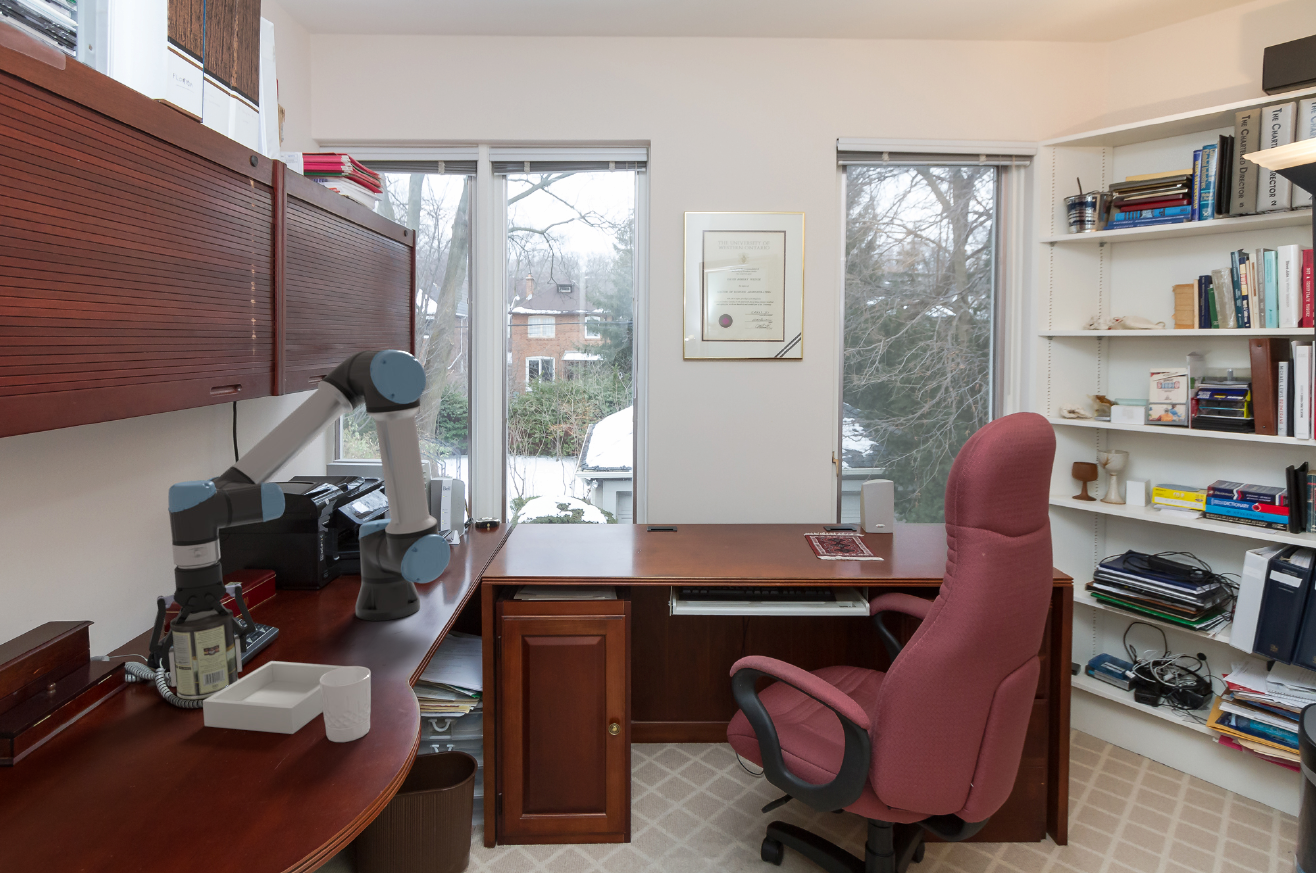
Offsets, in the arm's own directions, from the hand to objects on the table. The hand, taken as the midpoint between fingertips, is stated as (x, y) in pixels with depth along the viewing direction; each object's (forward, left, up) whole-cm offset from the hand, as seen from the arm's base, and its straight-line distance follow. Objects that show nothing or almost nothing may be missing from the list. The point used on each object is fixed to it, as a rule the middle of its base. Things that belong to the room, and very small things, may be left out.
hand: (207, 676), depth 142 cm
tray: (+16, +12, -2) cm, 20 cm away
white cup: (+32, +21, -3) cm, 39 cm away
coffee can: (0, 0, -2) cm, 2 cm away
